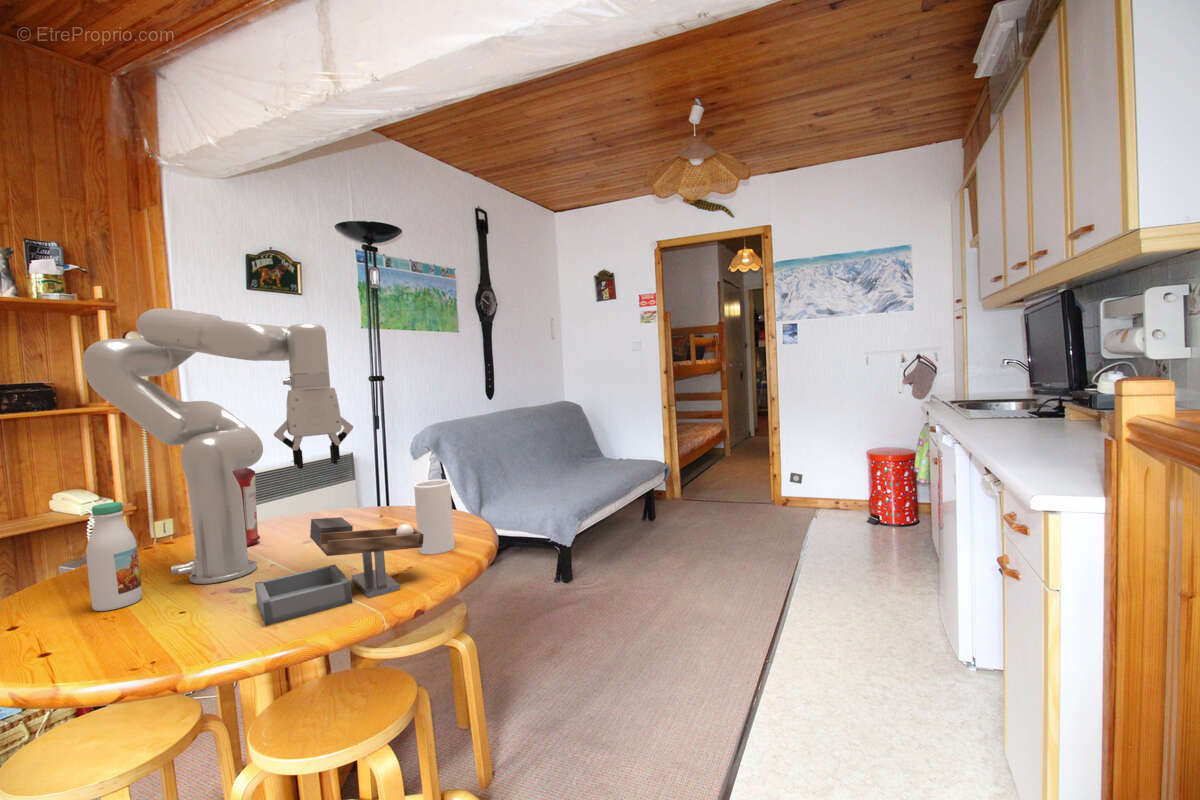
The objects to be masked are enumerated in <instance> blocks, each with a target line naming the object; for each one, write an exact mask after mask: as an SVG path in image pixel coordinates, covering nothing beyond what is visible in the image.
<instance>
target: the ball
mask: <svg viewBox="0 0 1200 800" xmlns="http://www.w3.org/2000/svg"><path fill="white" fill-rule="evenodd" d="M397 528H398V529H397V531H396V535H409V534H414V530H413V528H414V527H412V525H410V524H409V523H403V524H400V525H399V526H398V527H397Z"/></svg>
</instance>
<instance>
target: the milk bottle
mask: <svg viewBox="0 0 1200 800" xmlns="http://www.w3.org/2000/svg"><path fill="white" fill-rule="evenodd" d="M123 513H124V505H123V502H121V501H111V502H103V503H100V504H99V503H98V504H96V505H93V506H92V507H91V514H92V518H93V519H94V524H93V525H94V526H93V529H92V532H91V534H90V535H89V538H88V541H87V544H86V551H85V552H86V554H85V555H86V564H87V565H86V567H87V575H88V576H87V577H88V585H89V586H88V587H89V594H90V602H91V603H90V604H91V608H92V610H93V611H95V612H105V611H112V610H117V609H122V608H125V607H128V606H130V605H133V604H135V603H137V602H139V601H140V600H142V597H143V589H142V588H143V587H142V580H141V571H140V569H141V568H140V562H139V561H140V560H139V552H138V545H137V540H136V538H135V536H134V533H133V531H132V530H131V529H130V528H129V527H128V526H127V524H126V522H125V520H124V517H123Z"/></svg>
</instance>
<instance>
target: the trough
mask: <svg viewBox="0 0 1200 800" xmlns="http://www.w3.org/2000/svg"><path fill="white" fill-rule="evenodd" d="M412 528H413V530H414V534H409V535H396V531H397V529H398V527H393V528H392V527H391V528H376V529H364V530H363V529H362V530H353V529H354V526H353V525H352V524H351V523H349V522H348V521H347V520H346V519H344V518H343V517H342V516H341V517H323V518H311V520H310V530H309V531H310V533H309V537H310V539H311V540H312V541H313V542H314V543H315V544H316V546H317V547H318V548H319V549H320V550H321V551H322V553H324V555H325V556H327V557H331V556H332V557H333V556H343V555H345V556H346V555H356V554H362V553H368V552H371V553H374V552H375V551H379V550H383V551H384V552H387V551H389V552H390V551H397V550H399V551H400V550H411V549H419V548H422V544H423V536H424V534H422V533H421V532H419V531H417V529H415V528H414V527H412Z"/></svg>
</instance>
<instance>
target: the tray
mask: <svg viewBox="0 0 1200 800" xmlns="http://www.w3.org/2000/svg"><path fill="white" fill-rule="evenodd" d="M351 584H352V583H351V581H350V579H349V578H348V577H347V576H346V575H345V574H344V573H343V571H342V570H341V569H340V568H339V567H338V566H337V565H336V564H331V565H327V566H322V567H318V568H314V569H309V570H305V571H301V572H295V573H292V574H287V575H282V576H279V577H275V578H269V579H266V580H262V581H261V580H259V581H256V582H255V583H254V585H255V586H254V587H255V594H256V596H255V597H256V605H257V607H258V610H259V613H260V615H261V617H262V621H263V623H264V625H265V627H266V626H270V625H274V624H277V623H281V622H285V621H290V620H293V619H297V618H300V617H305V616H307V615H312V614H315V613H319V612H323V611H326V610H330V609H333V608H338V607H341V606H344V605H348V604H353V595H352V585H351Z"/></svg>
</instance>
